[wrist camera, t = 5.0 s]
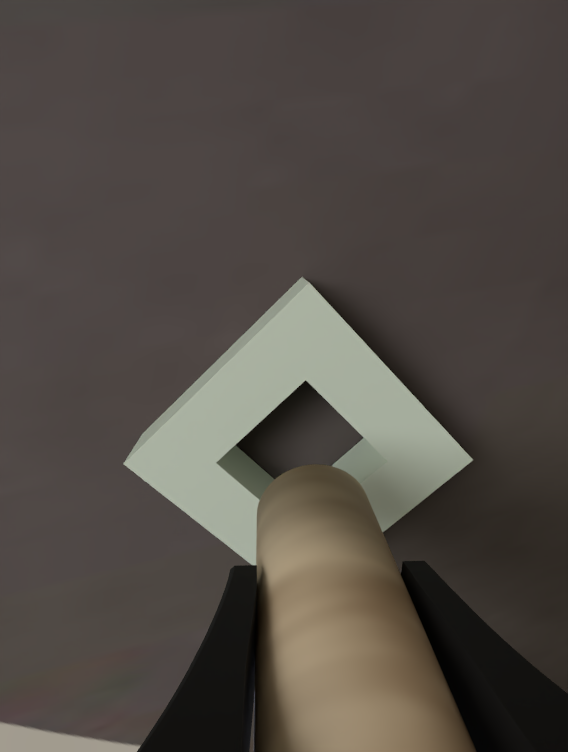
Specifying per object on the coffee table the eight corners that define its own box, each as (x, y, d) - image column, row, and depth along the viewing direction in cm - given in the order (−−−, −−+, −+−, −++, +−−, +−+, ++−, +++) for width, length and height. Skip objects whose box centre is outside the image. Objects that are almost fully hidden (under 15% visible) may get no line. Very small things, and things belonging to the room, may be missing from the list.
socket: (444, 431, 22) (473, 460, 19) (293, 557, 23) (297, 600, 21) (301, 277, 19) (309, 282, 16) (142, 433, 21) (123, 463, 18)
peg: (391, 514, 15) (576, 887, 6) (309, 579, 15) (371, 998, 7) (317, 442, 14) (415, 770, 5) (233, 515, 14) (192, 914, 6)
